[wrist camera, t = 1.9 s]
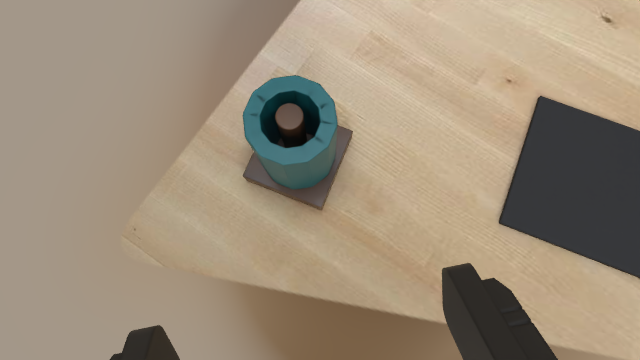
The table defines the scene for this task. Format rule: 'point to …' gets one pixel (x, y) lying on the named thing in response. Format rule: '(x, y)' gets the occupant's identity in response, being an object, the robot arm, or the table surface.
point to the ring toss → (294, 136)
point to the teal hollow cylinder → (263, 135)
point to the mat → (579, 185)
